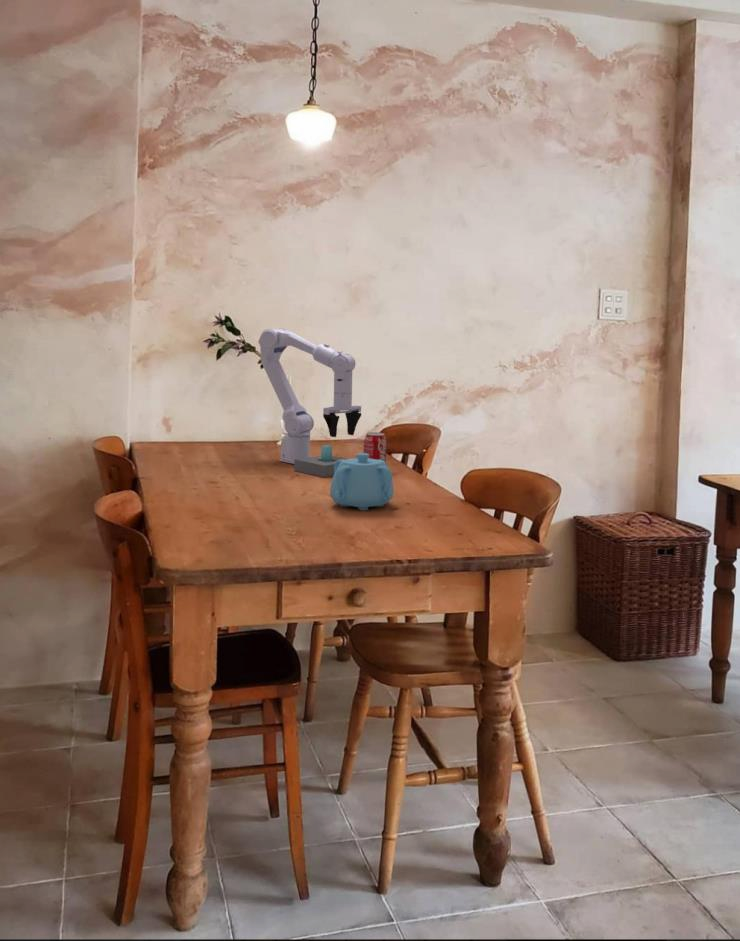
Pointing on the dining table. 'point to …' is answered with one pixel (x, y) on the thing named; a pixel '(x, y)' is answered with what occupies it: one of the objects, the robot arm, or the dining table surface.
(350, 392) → the robot arm
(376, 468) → the decorative pot
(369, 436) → the soda can
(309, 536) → the dining table surface
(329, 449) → the peg
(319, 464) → the socket
